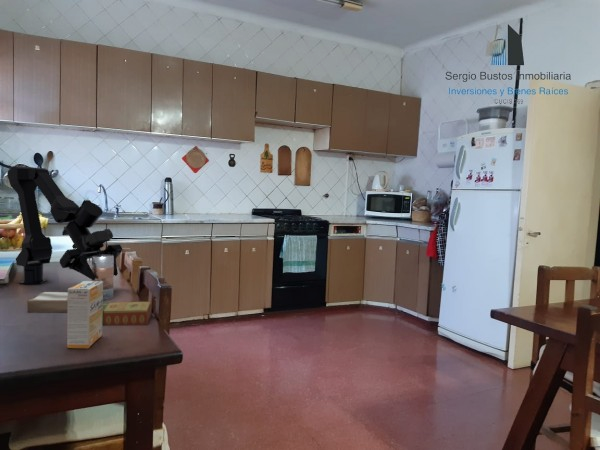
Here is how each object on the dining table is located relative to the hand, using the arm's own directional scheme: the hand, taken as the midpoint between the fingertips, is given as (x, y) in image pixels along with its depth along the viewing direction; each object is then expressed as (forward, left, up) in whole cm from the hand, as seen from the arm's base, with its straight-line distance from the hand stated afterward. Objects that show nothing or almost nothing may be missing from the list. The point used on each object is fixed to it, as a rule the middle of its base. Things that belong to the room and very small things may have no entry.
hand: (105, 277), depth 134 cm
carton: (+21, +8, -7) cm, 24 cm away
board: (+9, -11, -7) cm, 16 cm away
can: (-1, -1, -7) cm, 7 cm away
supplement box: (+37, +5, -7) cm, 38 cm away
